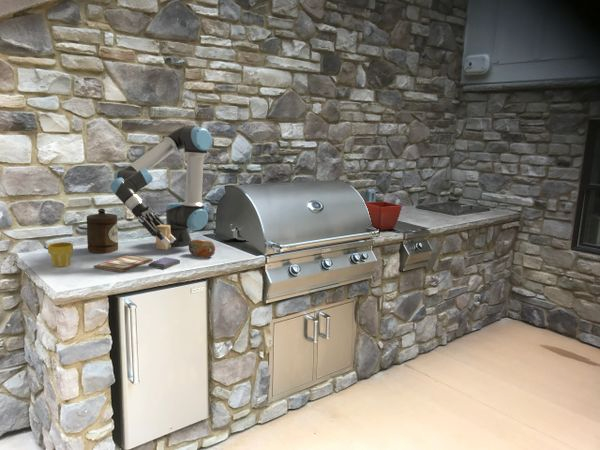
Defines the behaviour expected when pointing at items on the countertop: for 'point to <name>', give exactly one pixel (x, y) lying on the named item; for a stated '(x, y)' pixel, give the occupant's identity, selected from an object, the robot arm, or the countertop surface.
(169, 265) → the pad
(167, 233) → the wooden block
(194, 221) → the robot arm
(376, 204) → the plant pot
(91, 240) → the wooden container
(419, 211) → the countertop surface
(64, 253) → the plant pot
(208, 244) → the brown oval lump
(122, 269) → the print board
